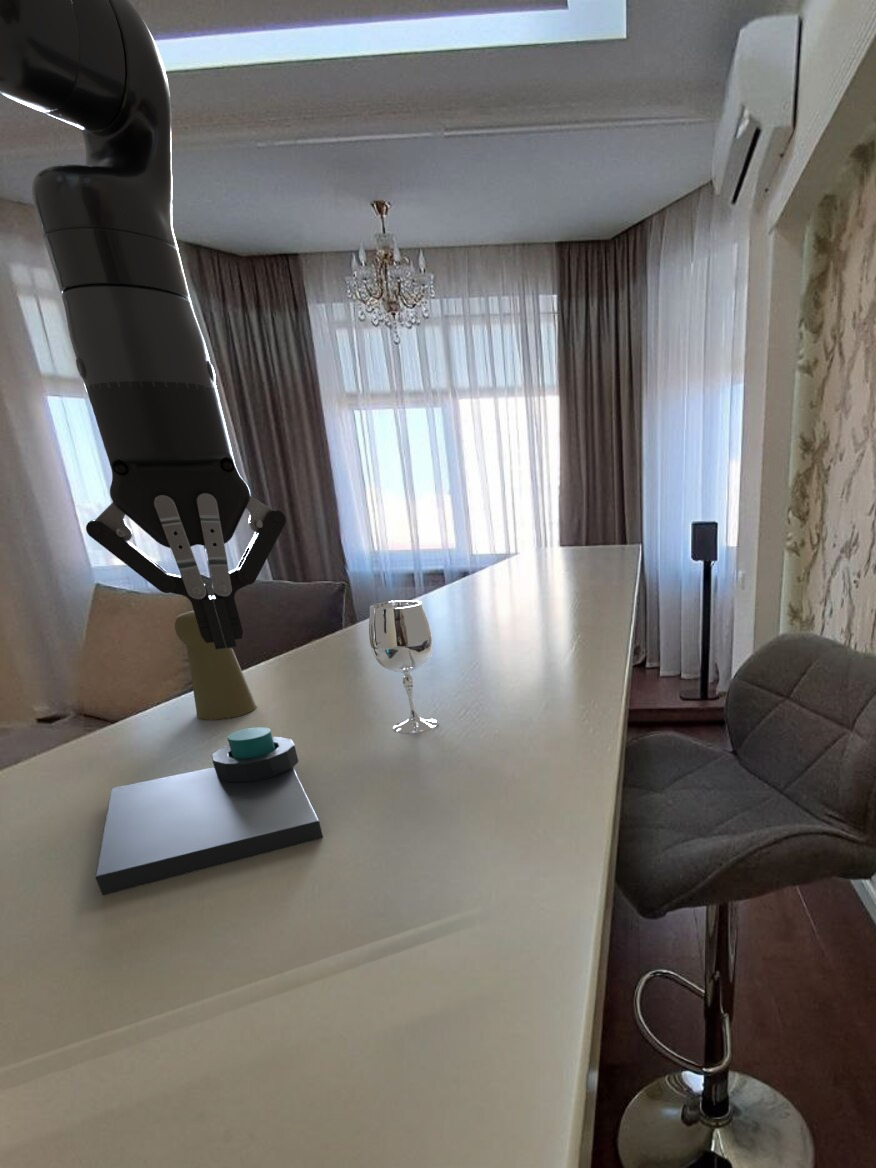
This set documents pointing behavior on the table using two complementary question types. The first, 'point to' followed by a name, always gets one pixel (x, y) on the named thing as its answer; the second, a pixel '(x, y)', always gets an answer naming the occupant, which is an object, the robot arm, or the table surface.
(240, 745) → the button
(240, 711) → the cork
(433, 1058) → the table surface
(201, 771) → the scale
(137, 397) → the robot arm
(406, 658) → the wineglass
